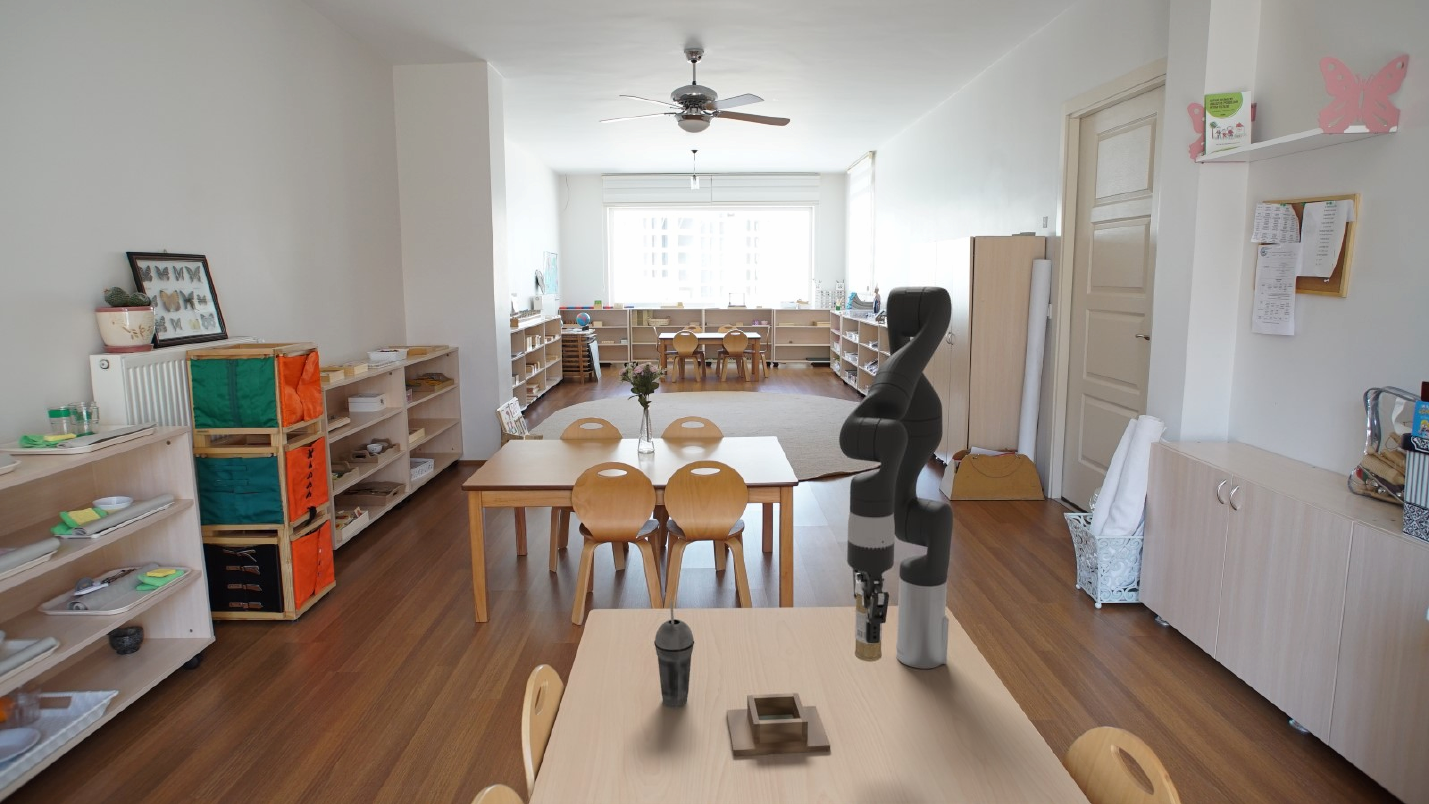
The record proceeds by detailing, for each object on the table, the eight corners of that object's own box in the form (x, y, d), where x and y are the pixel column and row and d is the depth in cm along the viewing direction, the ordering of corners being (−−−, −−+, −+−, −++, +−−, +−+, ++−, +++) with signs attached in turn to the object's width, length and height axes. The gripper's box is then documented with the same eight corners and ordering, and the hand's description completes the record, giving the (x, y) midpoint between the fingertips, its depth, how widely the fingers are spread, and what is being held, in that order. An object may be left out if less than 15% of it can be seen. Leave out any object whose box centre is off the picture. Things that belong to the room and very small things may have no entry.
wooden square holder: (815, 711, 144) (815, 687, 143) (830, 750, 132) (830, 725, 131) (726, 715, 143) (726, 691, 142) (733, 755, 131) (733, 730, 130)
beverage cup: (700, 694, 150) (699, 592, 146) (686, 714, 143) (685, 608, 140) (664, 687, 152) (662, 587, 149) (648, 707, 145) (646, 603, 142)
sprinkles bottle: (887, 657, 134) (889, 581, 132) (867, 665, 132) (869, 588, 129) (868, 647, 138) (869, 573, 136) (848, 654, 136) (849, 579, 133)
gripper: (907, 552, 124) (903, 655, 128) (881, 522, 138) (878, 615, 142) (859, 554, 124) (857, 657, 127) (838, 524, 138) (836, 617, 141)
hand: (868, 634), depth 134 cm, fingers closed on sprinkles bottle, 4 cm apart
